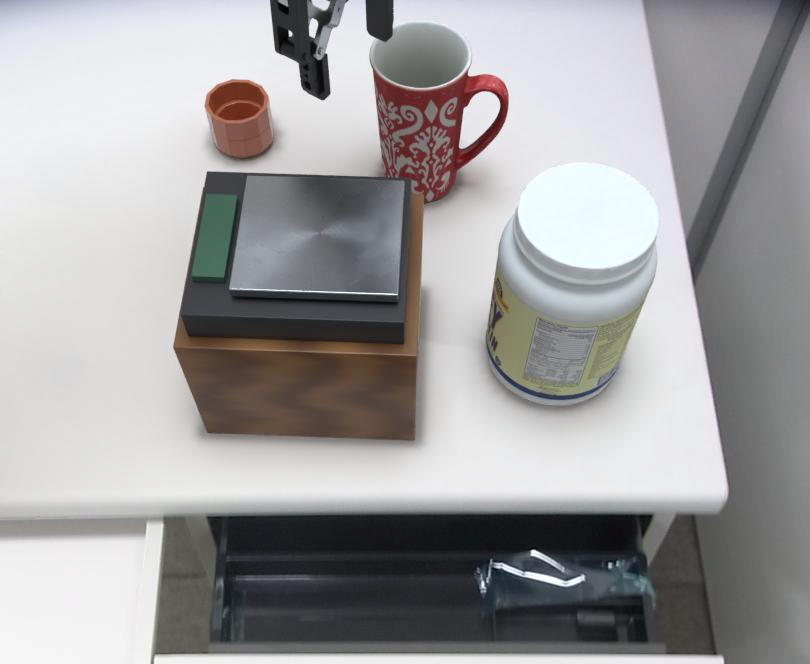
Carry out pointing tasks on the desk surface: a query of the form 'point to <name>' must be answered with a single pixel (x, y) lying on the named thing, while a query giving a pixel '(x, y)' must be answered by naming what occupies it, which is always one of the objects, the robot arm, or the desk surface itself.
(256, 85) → the bowl
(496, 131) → the mug
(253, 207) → the scale pan
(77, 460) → the desk surface
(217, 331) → the scale
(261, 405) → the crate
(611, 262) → the supplement tub
